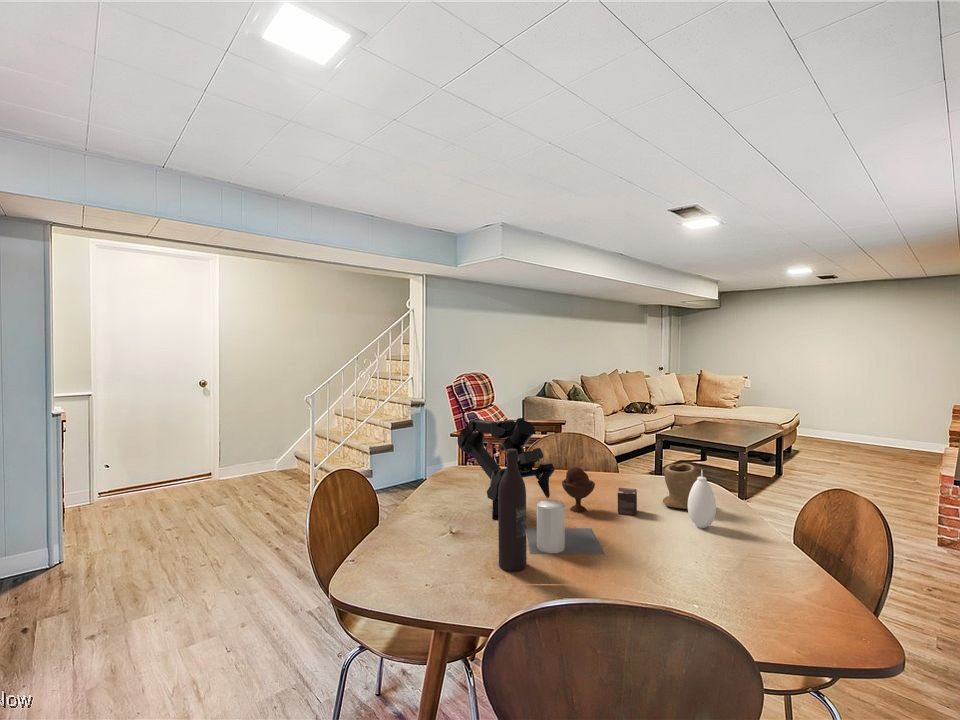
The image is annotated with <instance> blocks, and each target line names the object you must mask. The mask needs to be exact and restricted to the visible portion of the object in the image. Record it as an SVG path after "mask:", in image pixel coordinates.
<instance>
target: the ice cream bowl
mask: <svg viewBox="0 0 960 720" xmlns="http://www.w3.org/2000/svg"><path fill="white" fill-rule="evenodd" d="M561 486H562V488H563V490H564V492H566V494H568V496H570V497H571V498H573V499H574V500H575V504H574V505H572V506H571V507H569V511H571V512H572V511H573V512H572V513H576V512H577V513H578V514H579V513H580V514H582V513H586V512H587V508H586V507H585V506H584V505H582V500H583V499H585V498H587V497H588V496H590V494H591V493H592V492H593V491H594V489H595V486H596V483H595V482H594V481H593V480H591V479H590V477H589V476H588V474H587V472H585V470H584V469H582V468H581V467H579V466H572V467H569V468H568V469H567V470H566V475H565V479H563V480H562V481H561Z"/></svg>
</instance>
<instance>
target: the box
mask: <svg viewBox="0 0 960 720" xmlns="http://www.w3.org/2000/svg"><path fill="white" fill-rule="evenodd" d="M637 492H638V490H637V488H628V487H627V488H625V487H618V488H617V515H624V516H625V515H626V516H637V515H638V513H637V512H638V498H637V497H638V496H637V495H638V493H637Z"/></svg>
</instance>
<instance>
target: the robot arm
mask: <svg viewBox="0 0 960 720" xmlns="http://www.w3.org/2000/svg"><path fill="white" fill-rule="evenodd" d="M534 433H535V427H534V425H533V424H532V423H531V422H529V421H528V420H525V419H524V417H519V418H517V419H516V420H513V419H508V420H507V419H506V420H498V421H497V420H496V421H491V420H483V419H481V418H480V419H471V420H469V422H468V423H467V425H466V426H465V427H464V428H463V429H462V430H461V431H460V432H459V435H458V437H457V445H458V447H459V448H460V449H461V450H462V452H464V453H467V454H468V455H471V456H472V457H473V459H474V460H475V461H476V462H477V463H478V465H479V466H480V467H481V469H482V470H483V471H484V473H485V474H486V475H487V477H488V479H490V482H489V483H490V484H489V487H488V489H487V490H486V496H487V498H488V499H489V500H491V501H492V511H491V512H492V513H491V515H492V517H491V518H492V519H493V520H498V490H499V484H500V481H501V478H502V476H503V475H504V472H505V470H506V468H501V467H500V466H499V464H498V463H497V461H495V459H494V458H493V457H492V456H491V454H490V453H489V452H488V451H487V450H486V448H485V447H484V446H483V444H484V443H483V442H484V438H485V434H490V435H491V437H492V438H494V439H496V440H502V439H503V440H504V441H502V443H501V446H500V451H504V453H506V451H507V449H517V451H518V456H517V467H518V470H519V472H520V474H521V476H522V478H523V479H524V478H529V477H535V479H537V484H538V485H539V487H540V489H541V491H542V493H543V494H544V496H545V498H546V499H549V498H550V496H551V495H550V484H549V483H550V477H551V476H552V475H553V473H554V472H555V470H556V468H555V465H554V464H553V463H551V462H546V463H540V464H539V466H538V467H537V468H534V467H535V466H536V464H535V463H536V462H540V460H542V459H543V458H544V452H543V451H542V448H541V447H538V448H537V447H536V448H534V449H532V450H529V451H528V450H527V451H526V450H525V448H524V446H526V445H527V444H528V442H529V441H530V439H531V438H532V437H533V435H534Z"/></svg>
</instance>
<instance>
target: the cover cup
mask: <svg viewBox="0 0 960 720" xmlns="http://www.w3.org/2000/svg"><path fill="white" fill-rule="evenodd" d="M565 505H566V504H564V502H562V501H559V500H552V499H546V500H545V499H544V500H541V501H540V500H539V501H538V502H537V503H536V528H537V548H538V550H540V551H542V552H546V553H559V552H562V551H563V550H564V549H565V528H566V524H565V523H566V514H565V513H566V512H565V511H566V510H565V509H566V506H565Z"/></svg>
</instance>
